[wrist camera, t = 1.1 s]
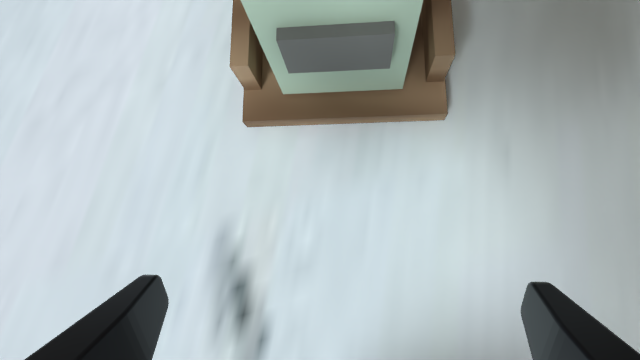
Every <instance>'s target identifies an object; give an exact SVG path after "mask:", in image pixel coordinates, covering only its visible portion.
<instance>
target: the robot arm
mask: <svg viewBox="0 0 640 360" xmlns="http://www.w3.org/2000/svg"><path fill="white" fill-rule="evenodd" d="M167 309H168V296H167V293H166V290H165V288H164V285H163V282H162V279H161V277H160V276H158V275H142V276H140V277H138V278H137V279H136V280H134V281H133V282H132V283H130V284H129V285H127V286H126V287H125V288H123V289H122V290H120V291H119V292H118V293H116V294H115V295H113V296H112V297H111V298H109V299H108V300H107V301H105V302H104V303H102V304H101V305H100V306H98V307H97V308H95V309H94V310H93V311H91V312H90V313H89V314H87V315H86V316H84V317H83V318H82V319H80V320H79V321H77V322H76V323H75V324H73V325H72V326H70V327H69V328H68V329H66V330H65V331H64V332H62V333H61V334H59V335H58V336H57V337H55V338H54V339H52V340H51V341H50V342H48V343H47V344H45V345H44V346H43V347H41V348H40V349H39V350H37V351H36V352H34V353H33V354H32V355H30V356H29V357H27V358H26V359H25V360H152V358H153V354H154V351H155V348H156V345H157V341H158V338H159V335H160V332H161V328H162V325H163V322H164V318H165V315H166V312H167ZM521 316H522V320H523V324H524V328H525V332H526V335H527V339H528V343H529V347H530V351H531V355H532V358H533V360H640V354H639V353H638V352H637V351H635V350H634V349H633V348H632V347H630V346H629V345H628V344H627V343H625V342H624V341H623V340H622V339H620V338H619V337H618V336H616V335H615V334H614V333H613V332H611V331H610V330H609V329H608V328H606V327H605V326H604V325H603V324H601V323H600V322H599V321H598V320H596V319H595V318H594V317H592V316H591V315H590V314H589V313H587V312H586V311H585V310H584V309H582V308H581V307H580V306H579V305H577V304H576V303H575V302H574V301H572V300H571V299H570V298H569V297H567V296H566V295H565V294H563V293H562V292H561V291H560V290H558V289H557V288H556V287H555V286H553V285H552V284H550V283H548V282H530V283H529V284H528V286H527V288H526V292H525V295H524V299H523V302H522V306H521Z"/></svg>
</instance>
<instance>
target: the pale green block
mask: <svg viewBox="0 0 640 360" xmlns="http://www.w3.org/2000/svg"><path fill="white" fill-rule="evenodd" d="M241 2H242V5H243V7H244V9H245V11H246V13H247V16H248V18H249V20H250V22H251V24H252V27H253V29H254V31H255V33H256V35H257V38H258V40H259V42H260V44H261V47H262V49H263V51H264V53H265V55H266V58H267V60H268V62H269V64H270V66H271V69H272V71H273V73H274V75H275V77H276V80H277V82H278V84H279V86H280V88H281V91H282V93H283V94H300V93H323V92H346V91H369V90H391V89H403V85H404V81H405V76H406V72H407V68H408V64H409V59H410V55H411V51H412V46H413V42H414V38H415V34H416V29H417V25H418V21H419V17H420V12H421V8H422V4H423V0H241Z"/></svg>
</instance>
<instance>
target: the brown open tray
mask: <svg viewBox="0 0 640 360" xmlns="http://www.w3.org/2000/svg"><path fill="white" fill-rule="evenodd" d="M454 57H455V45H454V32H453V20H452V7H451V0H423V4H422V8H421V12H420V17H419V21H418V25H417V29H416V34H415V38H414V42H413V46H412V51H411V55H410V59H409V64H408V68H407V72H406V76H405V81H404V85H403V89H391V90H369V91H346V92H323V93H300V94H283V93H282V91H281V88H280V86H279V84H278V82H277V80H276V77H275V75H274V73H273V71H272V69H271V66H270V64H269V62H268V60H267V58H266V55H265V53H264V51H263V49H262V47H261V44H260V42H259V40H258V38H257V35H256V33H255V31H254V29H253V27H252V24H251V22H250V20H249V18H248V16H247V13H246V11H245V9H244V7H243V5H242V2H241V0H233V13H232V33H231V52H230V68H231V69H232V71H233V72H234V74H235V75H236V77H237V78H238V80H239V81H240V83H241V84H242V86H243V87H244V100H243V123H244V124H245V125H246V126H247V127H263V126H291V125H318V124H346V123H374V122H401V121H429V120H444V119H445V117H446V116H447V114H448V112H447V99H446V85H445V77H446V75H447V72H448V70H449V68H450V66H451V63H452V61H453V59H454Z"/></svg>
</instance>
